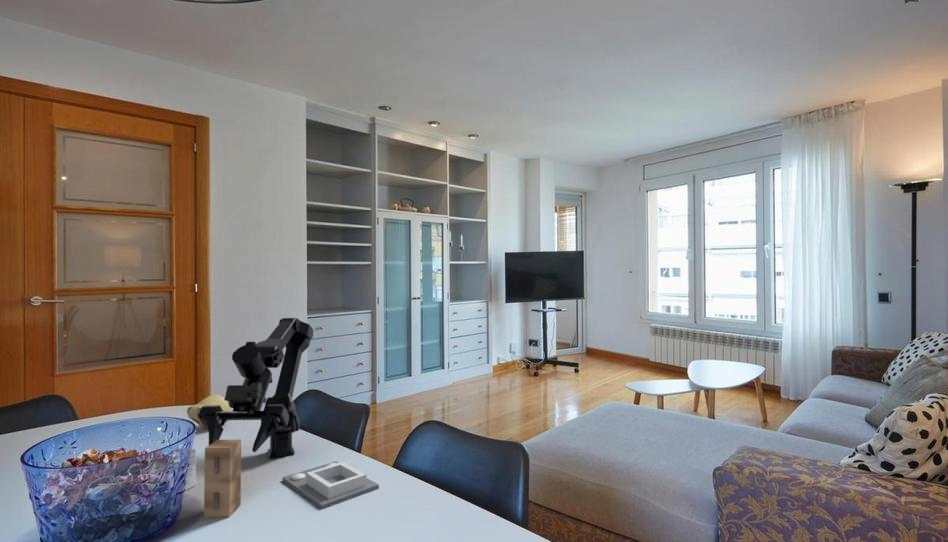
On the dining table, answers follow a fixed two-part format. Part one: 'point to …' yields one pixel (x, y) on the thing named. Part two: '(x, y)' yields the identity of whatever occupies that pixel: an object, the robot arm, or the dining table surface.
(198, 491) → the dining table surface
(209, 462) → the tan tall block
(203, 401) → the toy pig
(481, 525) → the dining table surface
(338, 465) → the grey insertion base
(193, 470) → the medicine box
